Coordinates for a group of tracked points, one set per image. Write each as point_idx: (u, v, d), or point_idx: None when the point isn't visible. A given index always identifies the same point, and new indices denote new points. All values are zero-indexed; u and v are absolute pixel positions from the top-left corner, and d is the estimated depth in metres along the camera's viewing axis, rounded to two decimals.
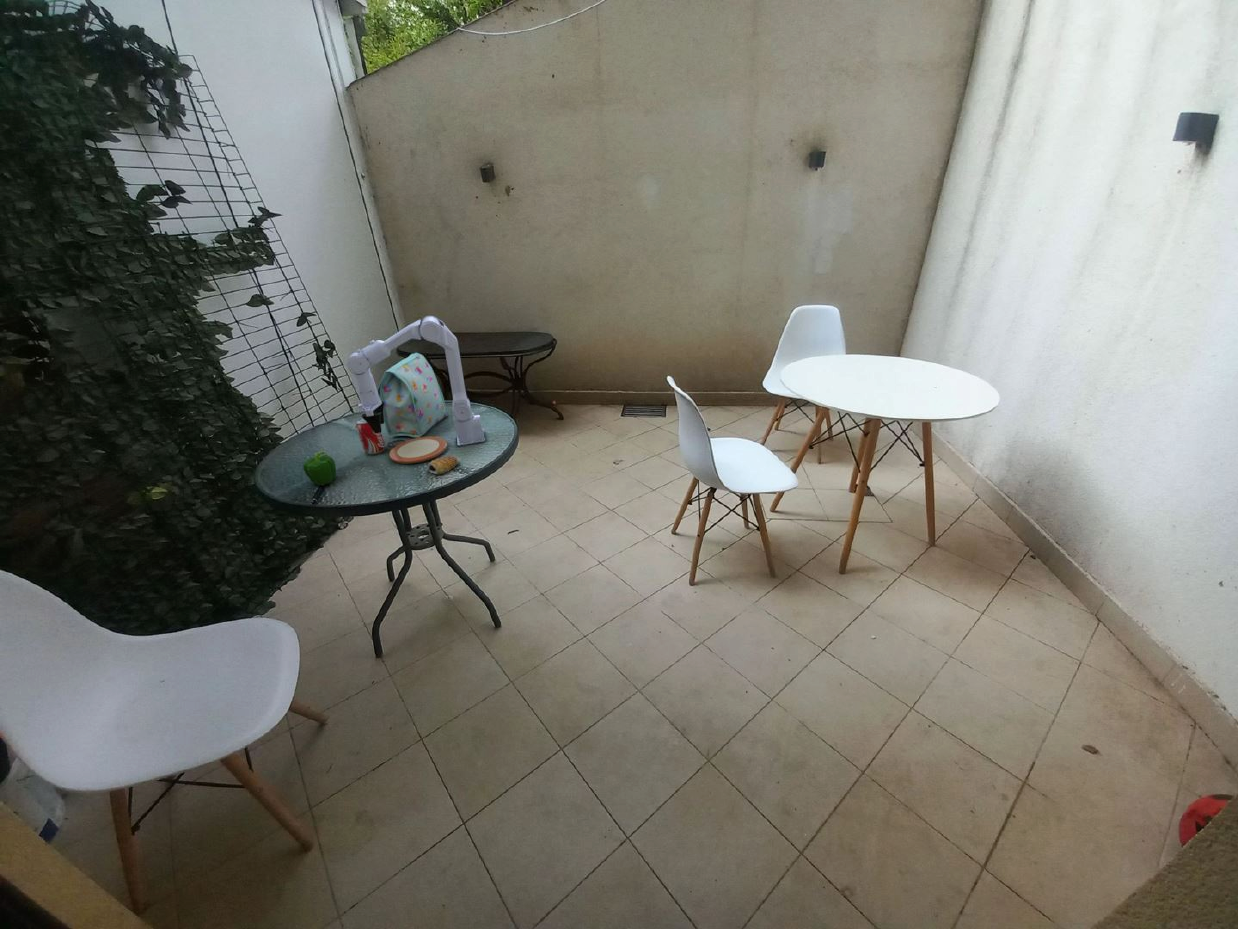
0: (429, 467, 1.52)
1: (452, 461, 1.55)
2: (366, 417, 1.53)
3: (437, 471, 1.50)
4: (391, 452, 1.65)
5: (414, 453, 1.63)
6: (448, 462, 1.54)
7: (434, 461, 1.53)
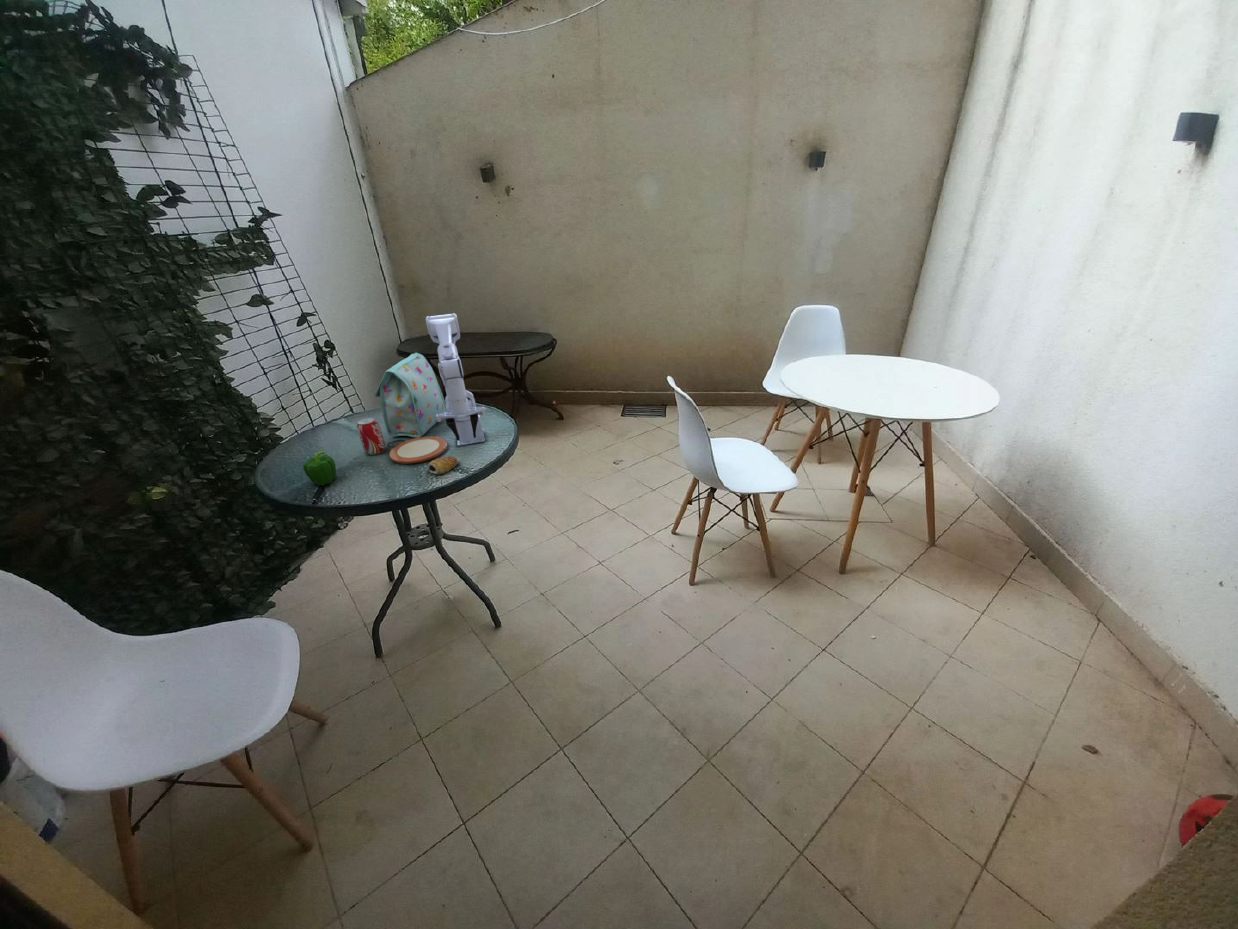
0: (429, 467, 1.52)
1: (452, 461, 1.55)
2: (478, 418, 1.50)
3: (437, 471, 1.50)
4: (391, 452, 1.65)
5: (414, 453, 1.63)
6: (448, 462, 1.54)
7: (434, 461, 1.53)
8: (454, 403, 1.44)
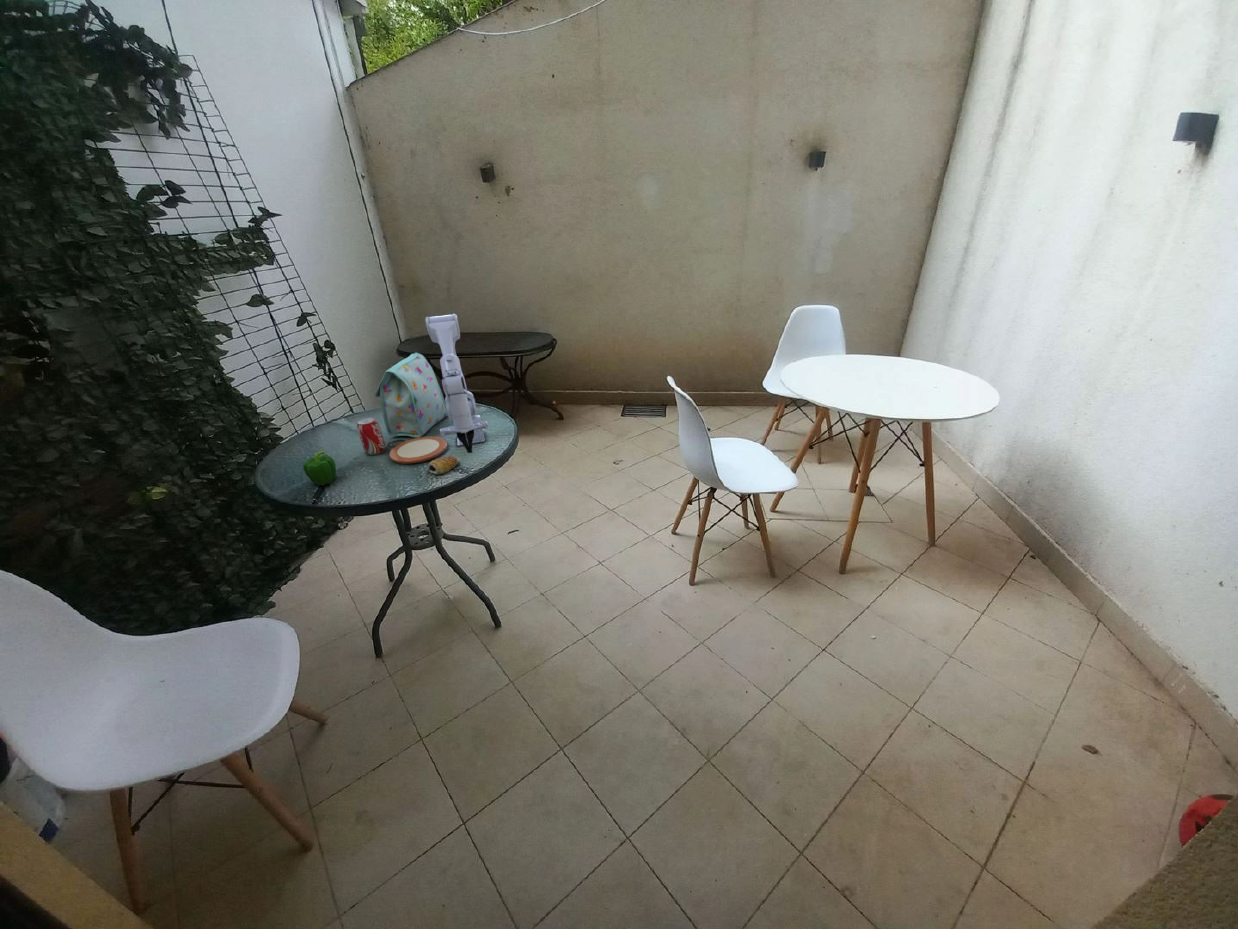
0: (429, 467, 1.52)
1: (452, 461, 1.55)
2: (474, 433, 1.52)
3: (437, 471, 1.50)
4: (391, 452, 1.65)
5: (414, 453, 1.63)
6: (448, 462, 1.54)
7: (434, 461, 1.53)
8: (457, 418, 1.47)
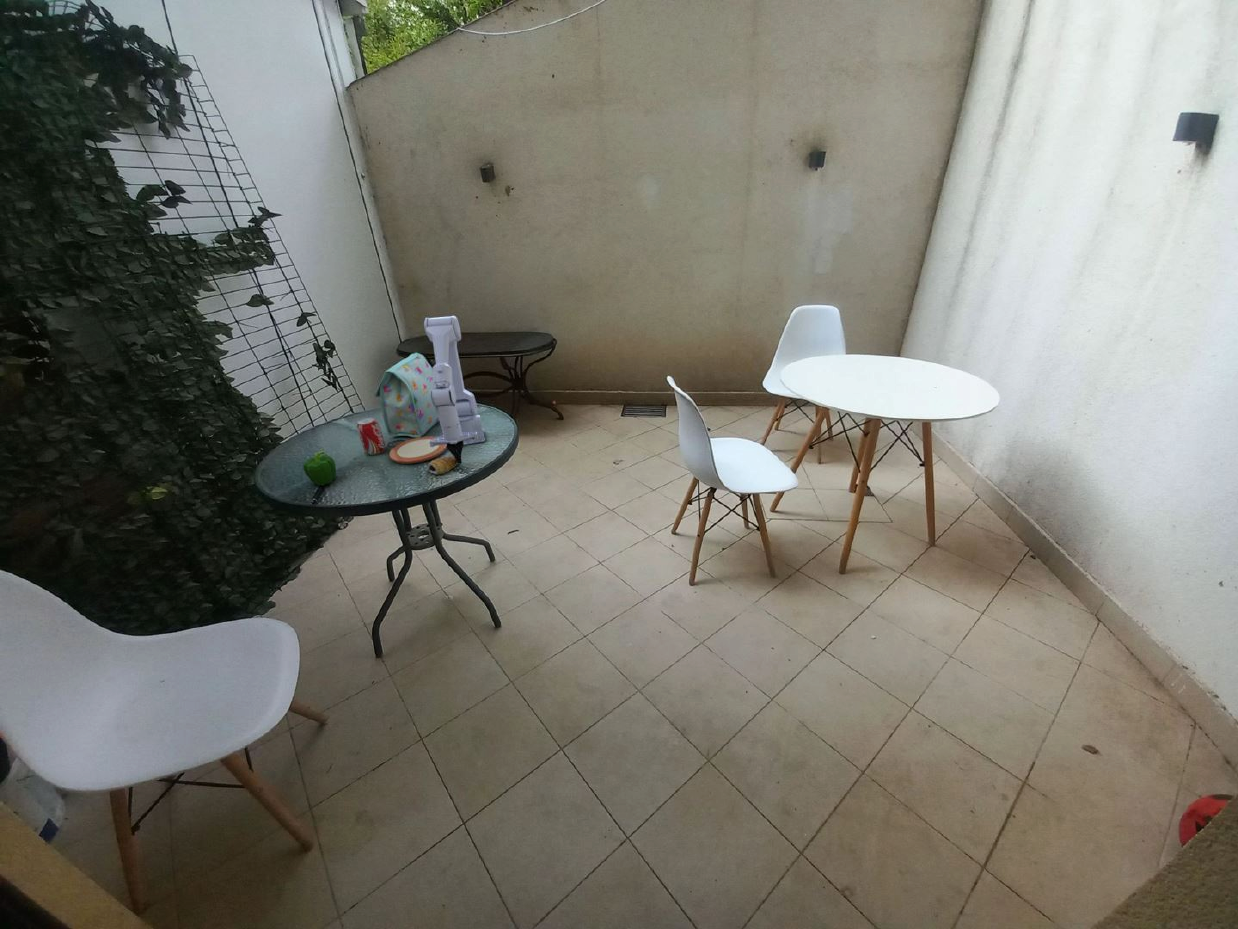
0: (429, 467, 1.52)
1: (452, 461, 1.55)
2: (463, 444, 1.52)
3: (437, 471, 1.50)
4: (391, 452, 1.65)
5: (414, 453, 1.63)
6: (448, 462, 1.54)
7: (434, 461, 1.53)
8: (447, 429, 1.47)
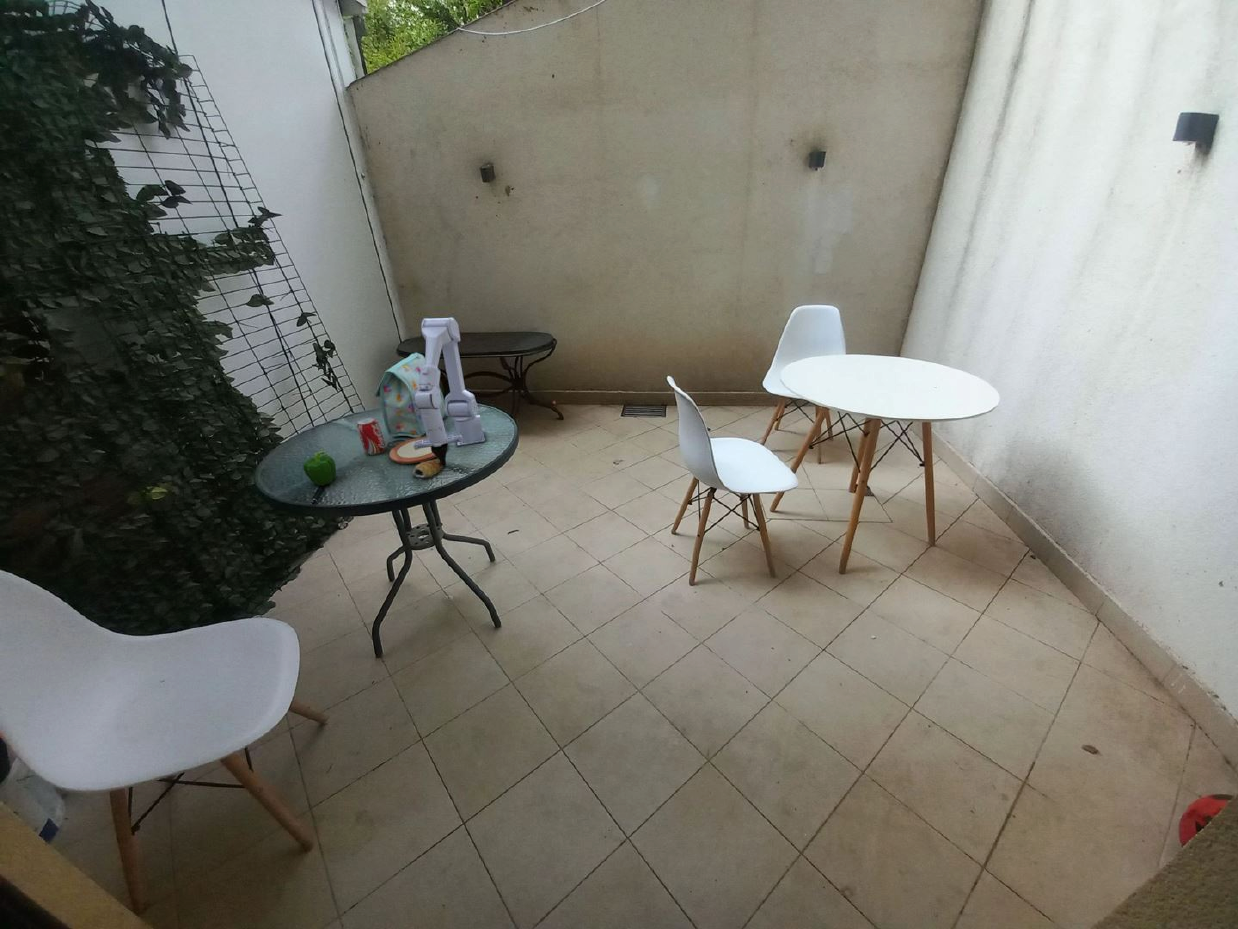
0: (415, 471, 1.50)
1: (438, 464, 1.54)
2: (447, 447, 1.51)
3: (425, 474, 1.49)
4: (391, 452, 1.65)
5: (414, 453, 1.63)
6: (435, 465, 1.52)
7: (420, 465, 1.51)
8: (430, 432, 1.46)
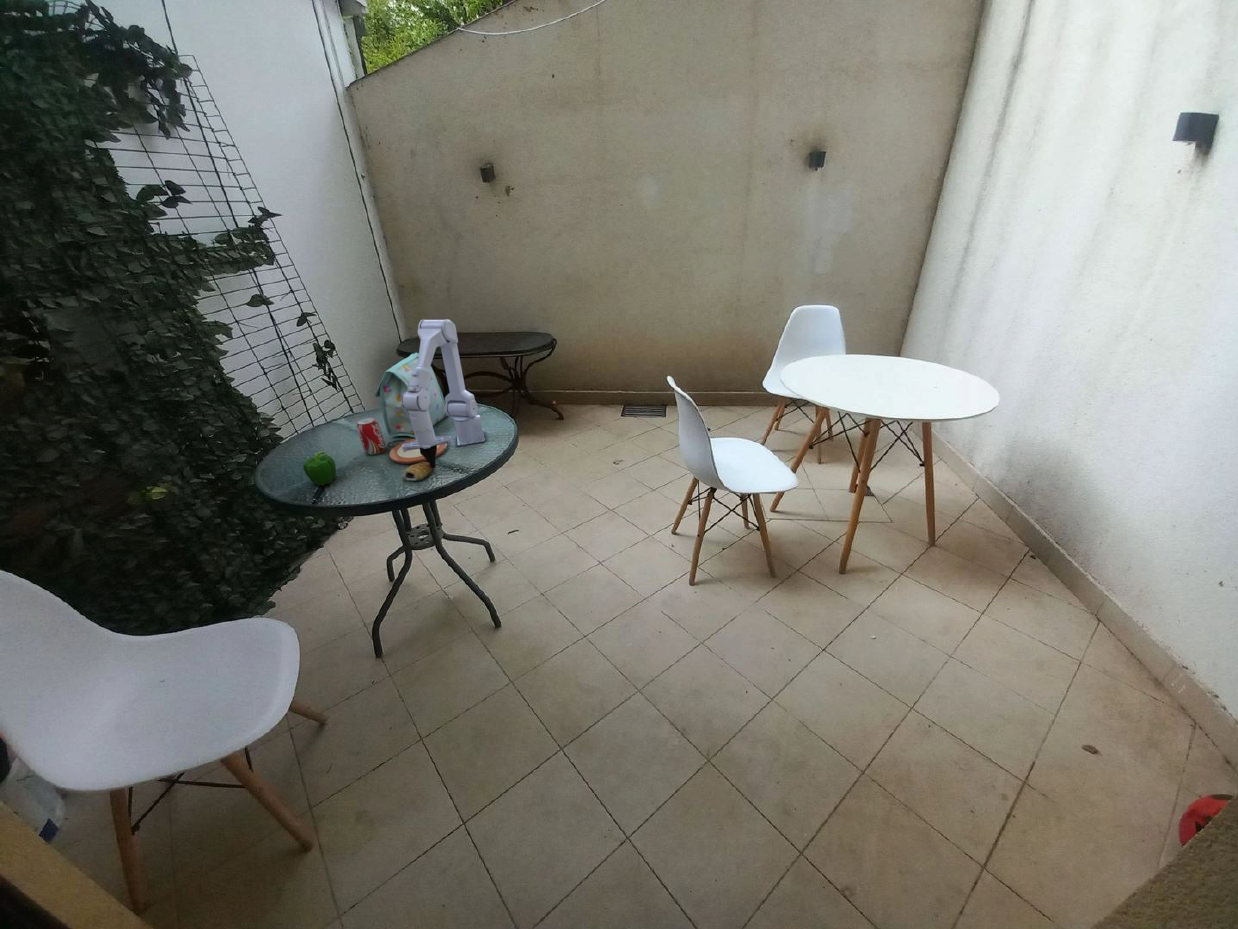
0: (406, 475, 1.49)
1: (428, 466, 1.53)
2: (436, 449, 1.50)
3: (417, 477, 1.48)
4: (391, 452, 1.65)
5: (414, 453, 1.63)
6: (425, 467, 1.51)
7: (410, 468, 1.49)
8: (419, 434, 1.45)
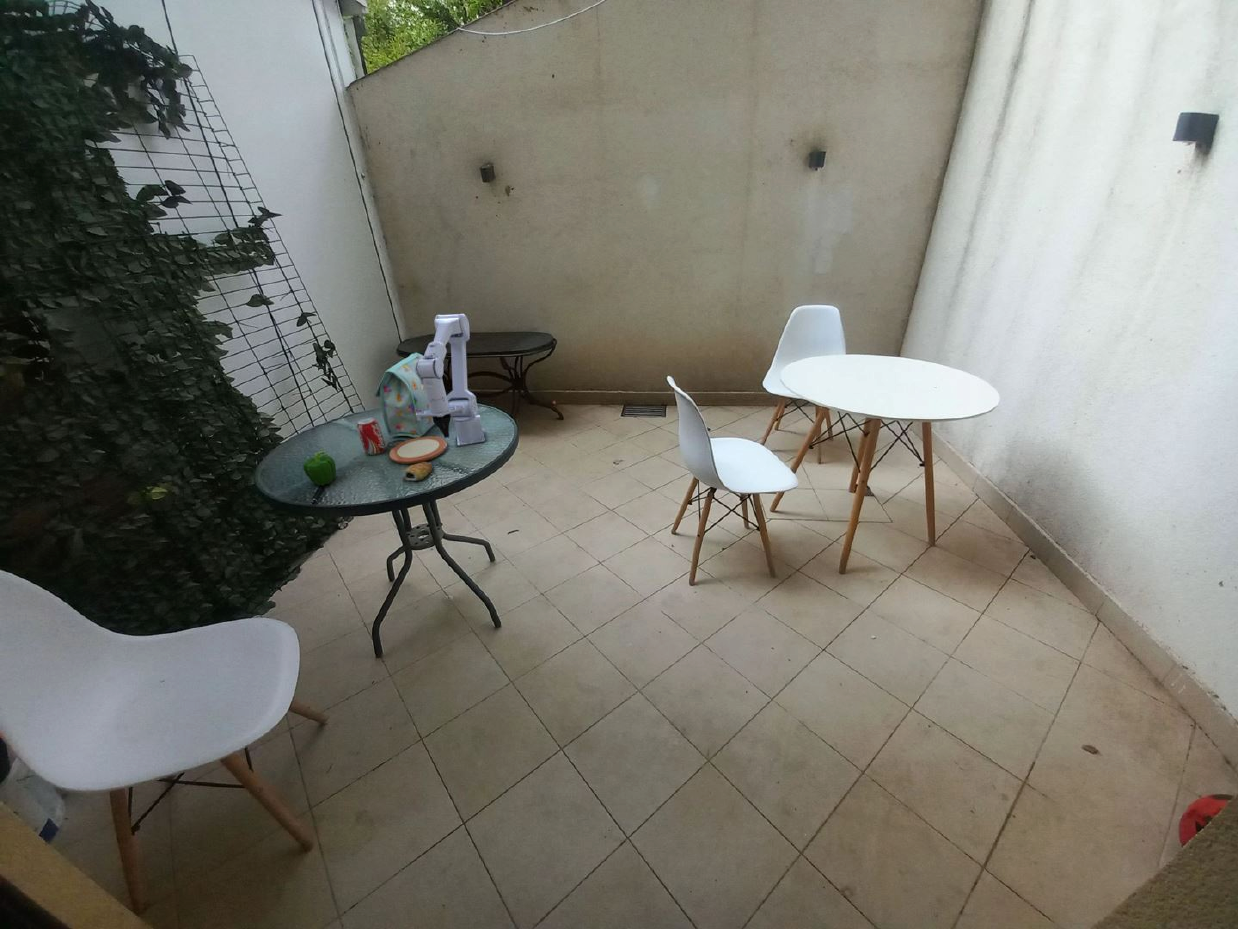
0: (406, 475, 1.49)
1: (428, 466, 1.53)
2: None
3: (417, 477, 1.48)
4: (391, 452, 1.65)
5: (414, 453, 1.63)
6: (425, 467, 1.51)
7: (410, 468, 1.49)
8: (433, 402, 1.46)
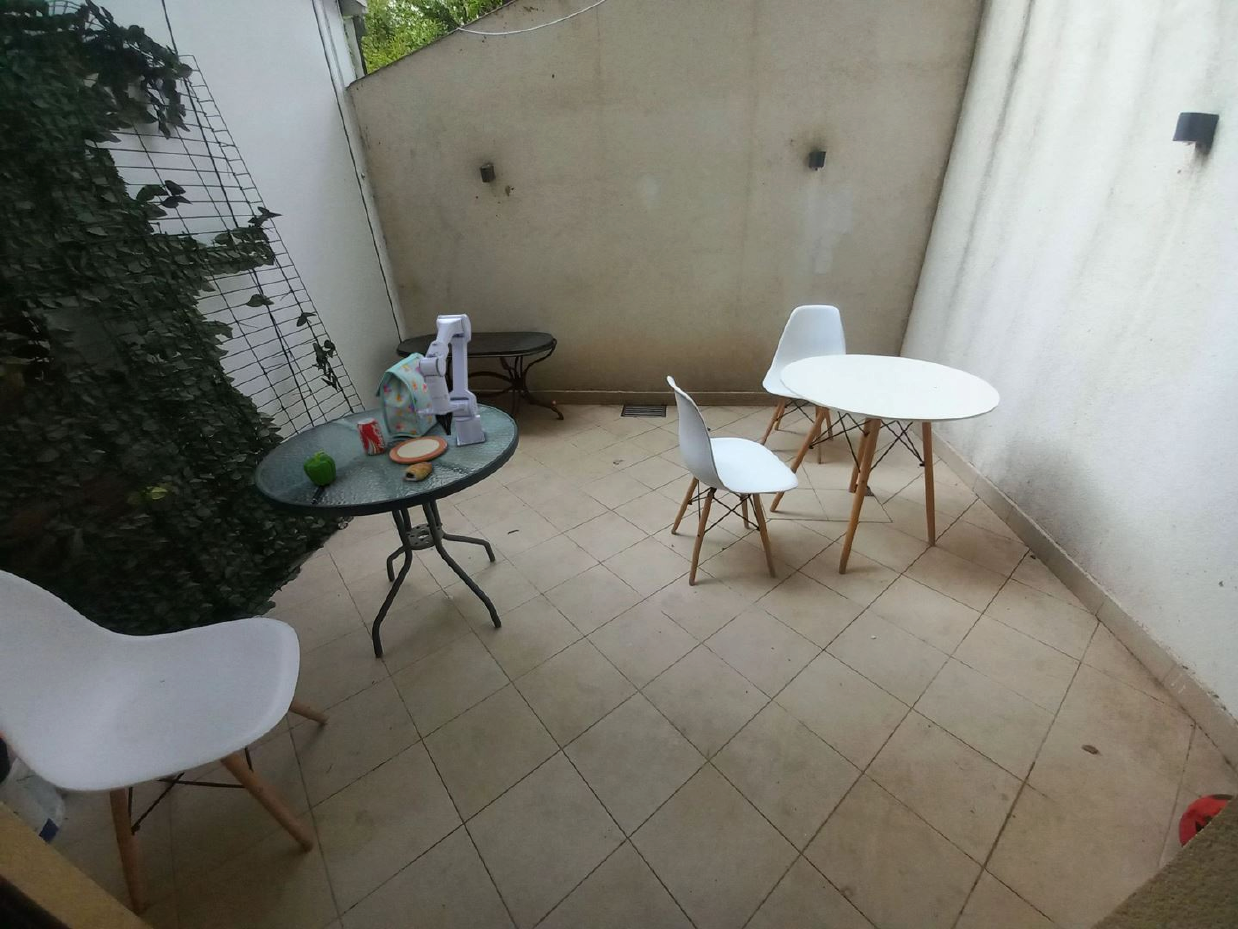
0: (406, 475, 1.49)
1: (428, 466, 1.53)
2: (452, 416, 1.52)
3: (417, 477, 1.48)
4: (391, 452, 1.65)
5: (414, 453, 1.63)
6: (425, 467, 1.51)
7: (410, 468, 1.49)
8: (435, 400, 1.47)
